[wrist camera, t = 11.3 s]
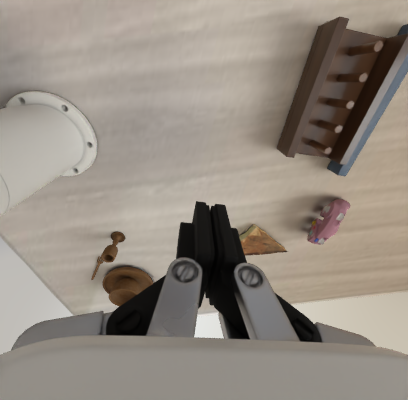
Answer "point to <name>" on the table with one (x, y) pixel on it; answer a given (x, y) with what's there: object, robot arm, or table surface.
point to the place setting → (122, 276)
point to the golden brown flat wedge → (259, 242)
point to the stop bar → (343, 169)
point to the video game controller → (328, 221)
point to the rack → (340, 90)
